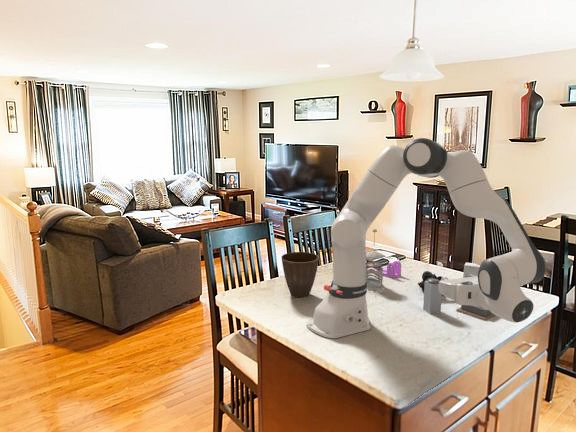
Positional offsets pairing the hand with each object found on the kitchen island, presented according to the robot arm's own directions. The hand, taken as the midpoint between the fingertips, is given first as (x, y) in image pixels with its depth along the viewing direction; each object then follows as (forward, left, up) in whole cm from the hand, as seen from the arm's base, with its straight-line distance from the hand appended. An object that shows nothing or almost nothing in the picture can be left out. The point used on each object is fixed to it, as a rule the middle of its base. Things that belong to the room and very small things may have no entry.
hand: (455, 278), depth 146 cm
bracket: (+26, +50, -17) cm, 59 cm away
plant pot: (-22, +54, -17) cm, 61 cm away
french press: (+8, +43, -17) cm, 47 cm away
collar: (+18, 0, -16) cm, 24 cm away
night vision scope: (+22, +24, -17) cm, 37 cm away
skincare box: (+33, +12, -17) cm, 39 cm away
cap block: (+5, +11, -17) cm, 21 cm away
